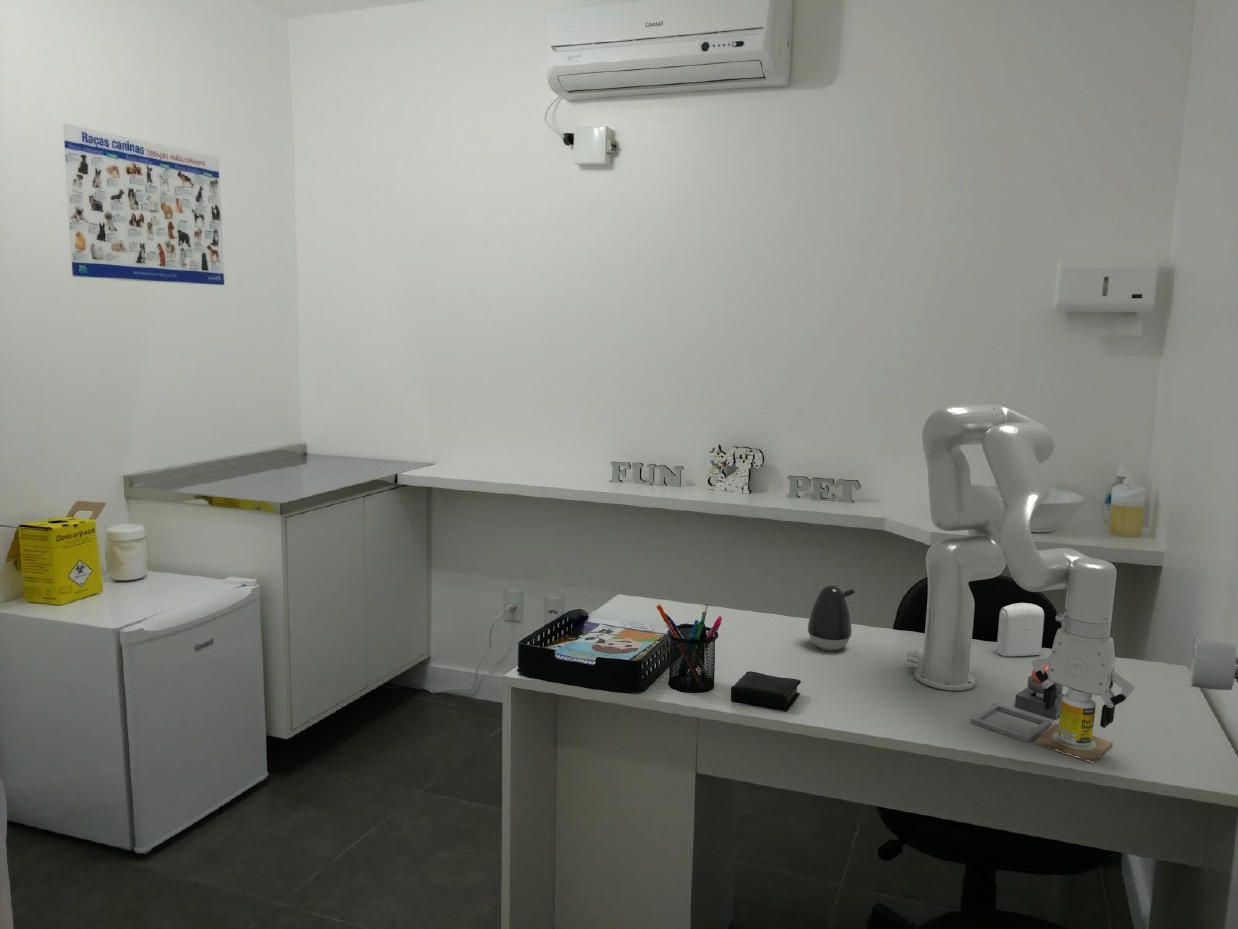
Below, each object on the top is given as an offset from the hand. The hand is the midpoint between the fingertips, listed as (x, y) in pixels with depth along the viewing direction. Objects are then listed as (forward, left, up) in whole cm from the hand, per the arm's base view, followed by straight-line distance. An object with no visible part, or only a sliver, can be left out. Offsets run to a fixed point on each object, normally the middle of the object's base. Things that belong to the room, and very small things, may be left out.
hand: (1076, 716), depth 162 cm
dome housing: (-11, +13, -6) cm, 18 cm away
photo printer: (-27, +40, -6) cm, 48 cm away
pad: (0, 0, -6) cm, 6 cm away
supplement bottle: (0, 0, -5) cm, 5 cm away
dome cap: (-11, +13, -4) cm, 17 cm away
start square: (-12, 0, -6) cm, 13 cm away
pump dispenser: (-59, +9, -6) cm, 59 cm away
